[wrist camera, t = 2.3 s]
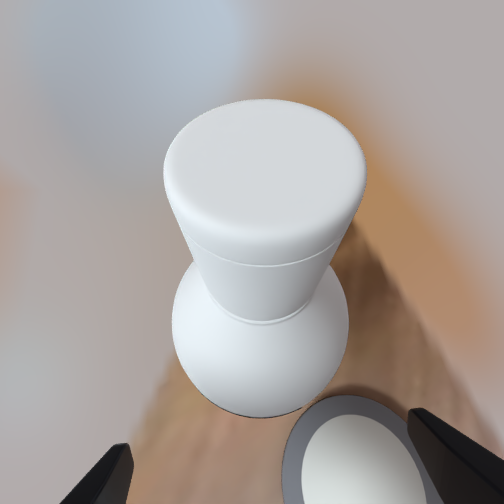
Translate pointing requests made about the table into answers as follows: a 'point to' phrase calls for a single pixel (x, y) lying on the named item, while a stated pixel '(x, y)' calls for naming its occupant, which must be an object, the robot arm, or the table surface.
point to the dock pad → (353, 457)
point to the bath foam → (262, 251)
